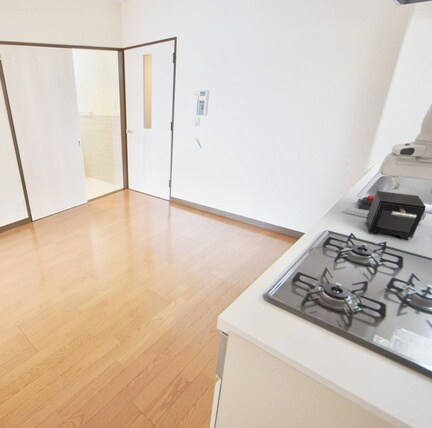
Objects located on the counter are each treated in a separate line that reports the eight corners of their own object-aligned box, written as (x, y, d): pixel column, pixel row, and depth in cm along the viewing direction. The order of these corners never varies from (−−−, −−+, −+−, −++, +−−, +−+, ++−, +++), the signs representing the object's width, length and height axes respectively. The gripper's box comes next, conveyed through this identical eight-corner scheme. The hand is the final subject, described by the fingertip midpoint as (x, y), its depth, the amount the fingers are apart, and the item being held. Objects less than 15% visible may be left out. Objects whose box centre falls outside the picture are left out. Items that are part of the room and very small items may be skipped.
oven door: (415, 244, 98) (429, 215, 93) (371, 236, 104) (382, 208, 99) (411, 236, 102) (424, 207, 98) (370, 229, 109) (380, 201, 104)
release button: (375, 199, 130) (376, 196, 129) (376, 202, 127) (377, 198, 126) (366, 198, 131) (367, 195, 131) (367, 200, 129) (368, 197, 128)
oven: (409, 241, 103) (425, 206, 98) (367, 233, 110) (380, 200, 104) (403, 228, 112) (418, 195, 106) (365, 221, 119) (376, 190, 113)
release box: (378, 206, 132) (382, 198, 130) (381, 212, 126) (384, 204, 124) (357, 202, 136) (359, 195, 134) (358, 208, 130) (361, 200, 128)
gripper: (478, 150, 84) (456, 193, 90) (387, 145, 95) (373, 183, 101) (486, 154, 80) (463, 199, 85) (389, 149, 91) (375, 189, 96)
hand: (413, 190), depth 93 cm, fingers open, 8 cm apart
